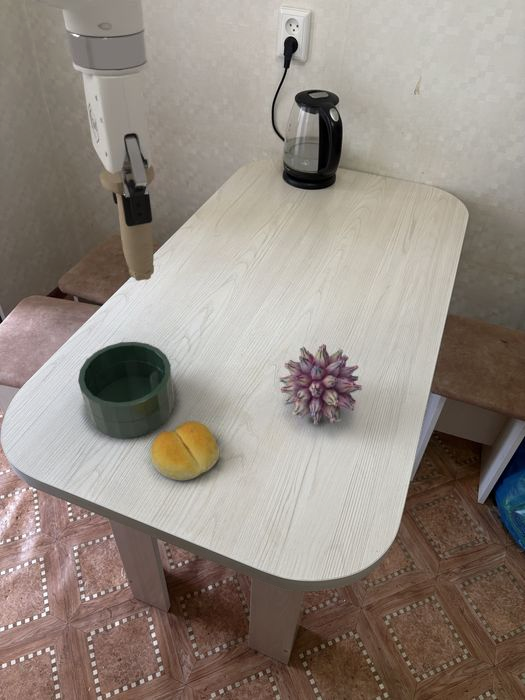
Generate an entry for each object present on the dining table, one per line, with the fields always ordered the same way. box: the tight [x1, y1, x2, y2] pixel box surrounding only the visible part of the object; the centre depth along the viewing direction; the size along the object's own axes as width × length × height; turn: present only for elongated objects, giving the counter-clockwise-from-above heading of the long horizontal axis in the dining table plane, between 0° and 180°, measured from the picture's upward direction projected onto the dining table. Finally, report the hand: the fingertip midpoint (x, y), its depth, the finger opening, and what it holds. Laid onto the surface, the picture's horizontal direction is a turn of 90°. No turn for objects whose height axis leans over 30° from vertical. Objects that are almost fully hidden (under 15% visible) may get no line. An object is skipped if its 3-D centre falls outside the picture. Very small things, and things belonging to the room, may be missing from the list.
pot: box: [77, 341, 175, 439], centre depth 73 cm, size 13×13×7 cm
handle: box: [99, 162, 155, 282], centre depth 65 cm, size 5×6×15 cm
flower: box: [278, 343, 363, 427], centre depth 73 cm, size 12×12×12 cm
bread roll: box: [150, 420, 220, 481], centre depth 68 cm, size 8×9×4 cm
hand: (132, 210), depth 64 cm, fingers closed on handle, 5 cm apart
